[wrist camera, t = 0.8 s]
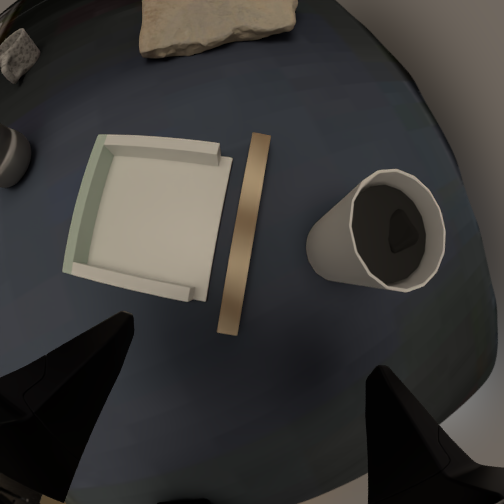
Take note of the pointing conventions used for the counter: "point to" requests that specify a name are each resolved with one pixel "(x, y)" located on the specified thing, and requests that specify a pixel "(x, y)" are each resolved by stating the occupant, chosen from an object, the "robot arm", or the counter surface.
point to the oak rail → (243, 235)
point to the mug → (17, 55)
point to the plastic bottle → (13, 156)
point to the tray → (149, 215)
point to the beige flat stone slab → (209, 24)
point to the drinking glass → (380, 235)
